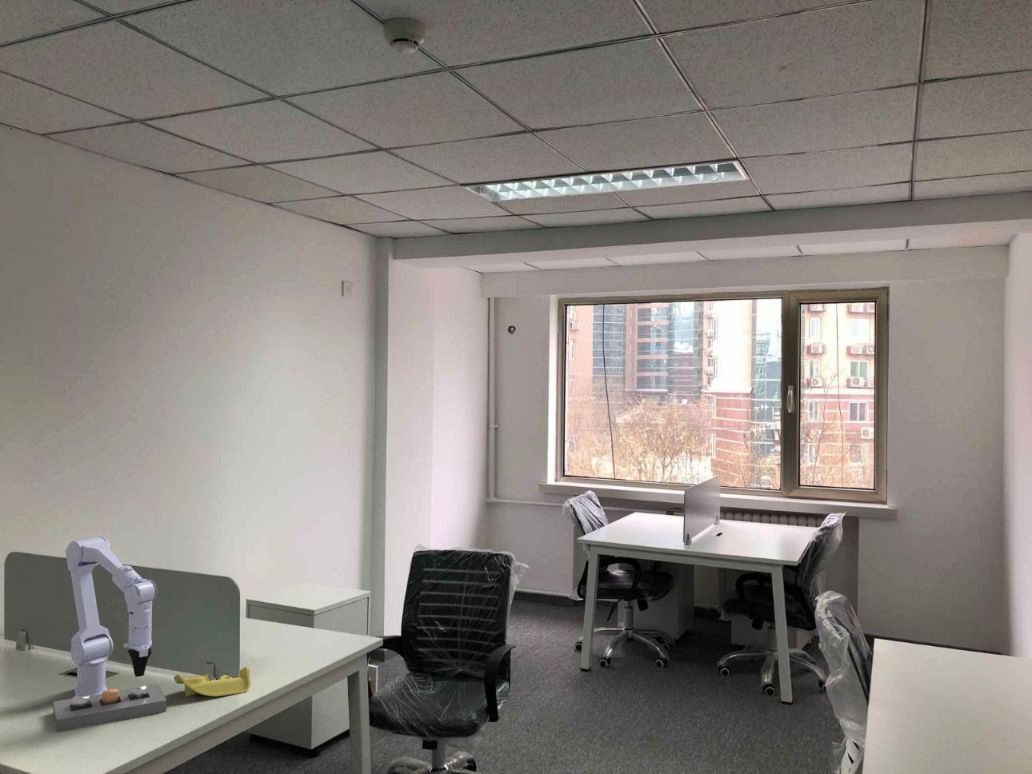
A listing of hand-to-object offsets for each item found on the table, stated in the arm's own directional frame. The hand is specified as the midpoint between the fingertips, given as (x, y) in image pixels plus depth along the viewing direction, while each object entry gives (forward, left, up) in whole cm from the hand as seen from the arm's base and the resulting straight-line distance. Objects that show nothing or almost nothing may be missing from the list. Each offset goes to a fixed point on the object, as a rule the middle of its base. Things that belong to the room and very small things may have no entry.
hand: (139, 675), depth 220 cm
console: (0, -7, -9) cm, 11 cm away
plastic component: (-2, +20, -9) cm, 22 cm away
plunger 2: (0, 0, -5) cm, 5 cm away
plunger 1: (0, -14, -5) cm, 15 cm away
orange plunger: (0, -7, -5) cm, 9 cm away
